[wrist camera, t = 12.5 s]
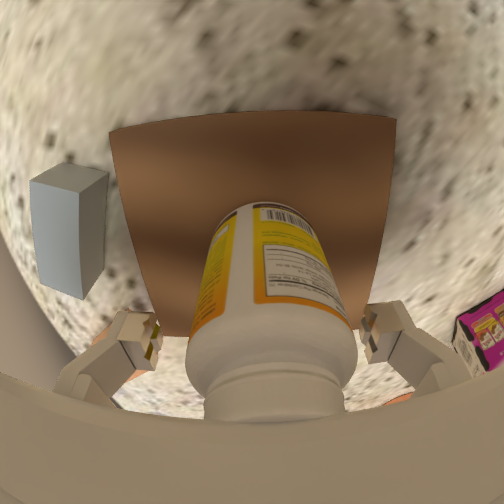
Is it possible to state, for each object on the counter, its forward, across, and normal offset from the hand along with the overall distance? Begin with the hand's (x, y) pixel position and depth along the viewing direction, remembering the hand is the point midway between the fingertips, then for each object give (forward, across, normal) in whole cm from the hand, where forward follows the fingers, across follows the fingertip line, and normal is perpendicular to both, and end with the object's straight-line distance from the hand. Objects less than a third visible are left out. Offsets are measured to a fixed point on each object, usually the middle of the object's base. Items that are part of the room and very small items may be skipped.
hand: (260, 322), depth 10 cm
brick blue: (+7, +11, -2) cm, 13 cm away
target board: (+7, 0, 0) cm, 7 cm away
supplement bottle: (+6, 0, 0) cm, 6 cm away
